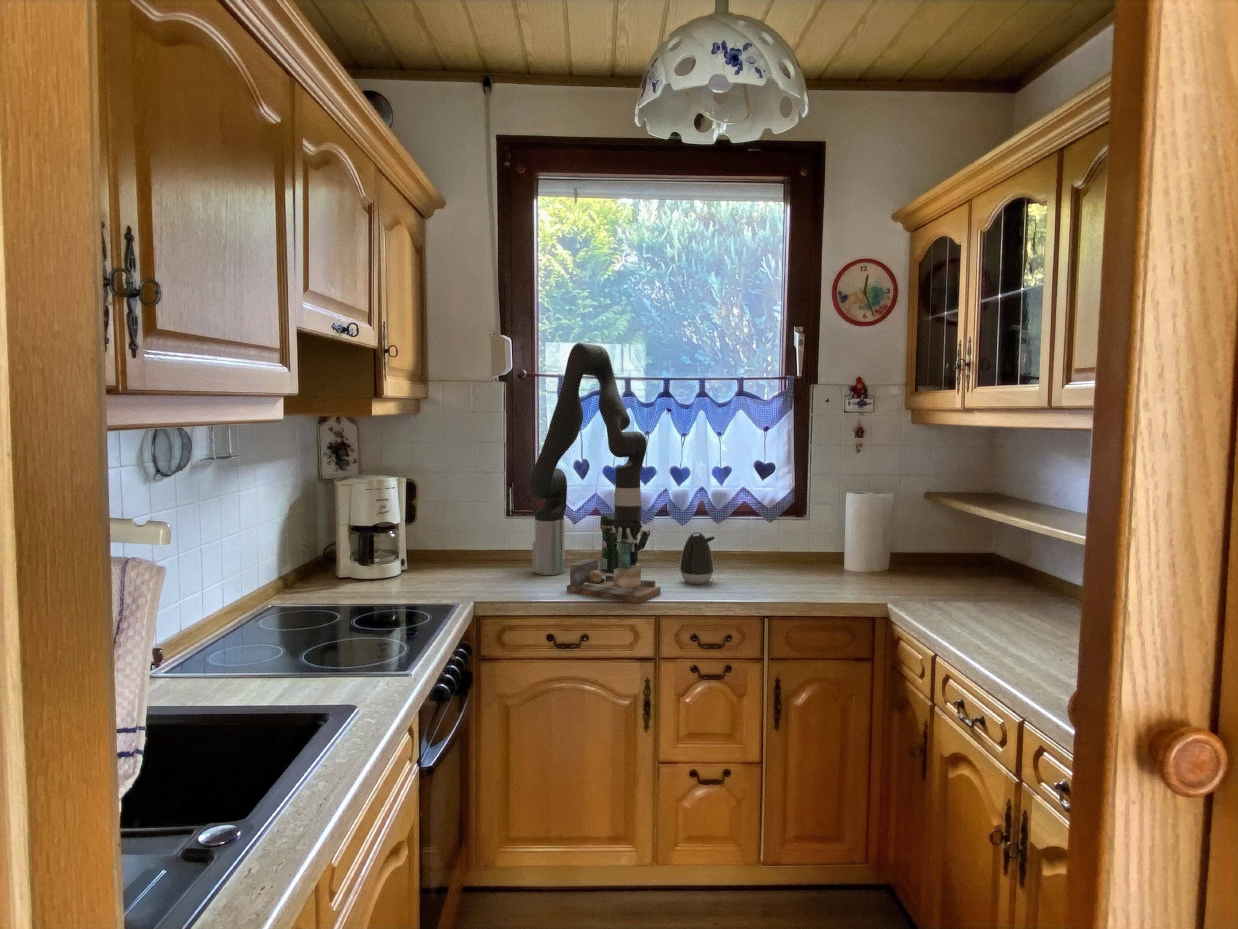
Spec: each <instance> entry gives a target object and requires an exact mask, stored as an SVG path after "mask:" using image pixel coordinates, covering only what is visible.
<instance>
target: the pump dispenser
mask: <svg viewBox="0 0 1238 929" xmlns="http://www.w3.org/2000/svg"><path fill="white" fill-rule="evenodd" d="M714 540H715V536H714V535H713V536H712V535H711V536H708V537H705V535H704V534H702V533H701V532H693V533H691V534H690V535H689V536H688V538H687V539H686V541H685V544H684V546H683V549H682V552H681V556H680V562H679V572H680V574H681V577H682V579H683V580H684V581H685V583H686V582H687V583H688V584H690V585H691V584H692V585H704V584H706V583H708V582H709V581H710V580H711V579H712V576H713V573H714V571H715V568H714V565H715V564H714V558H713V554H712V550H711V547H710V544H709V542H712V541H714Z"/></svg>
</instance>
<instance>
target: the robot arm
mask: <svg viewBox="0 0 1238 929" xmlns="http://www.w3.org/2000/svg"><path fill="white" fill-rule="evenodd" d="M583 376H590V377H595V378H596V381H598V384H599V385H600V392H599V396H598V410H599V413H600V415H601V418H602V419H603V422H604V425H605V427H606V434H607V442H608V443H607V444H608V445H607V446H608V450H609V451H610V453H611V454H612V455H613V456H614V457H616V458H627V461H626V463H624V464H622V465H619V466H617V467H616V468H615V471H614V473H615V474H614V478H615V480H614V486H615V487H614V494H613V496H614V500H613V501H614V502H613V504H614V505H613V506H614V510H613V513H614V518H615V523H614V526H611V527H607V528H606V532H607V535H608V538H609V541H610V543H611V546H612V547H613V548H616V549H617V550H618V543H622V542H625V541H627V539H628V541H629V544H630V548H631V552H630V565H635V564H636V563H637V564H638V561H639V558H638V557H639V556H638V554H639V552H640V551H641V550H644V549H645V547H646V544H647V541H648V540H649V537H650V535H651V530H649V529H648V530H647V529H646V528H643V524H642V523H641V521H642V493H641V490H642V489H641V471H642V468H643V465H644V461H645V460H644V459H645V456H646V453H647V448H648V447H647V439H646V436H645V435H644V434H643V433H642V432H640V431H625V430H626V429H628V427H629V426H630V424H631V419H630V416H629V414H628V412H627V409H626V407H625V405H624V402H623V401H622V398H621V394H620V393H619V390H618V389H619V388H618V385H617V381H616V376H615V373H614V369H613V365H612V361H611V357H610V355H609V353H608V351H607V349H606V348H605V347H604V346H602V345H598V344H592V343H587V342H586V343H585V342H577V343H575V344H574V345H573V347H572V348H571V349H570V351H569V355H568V358H567V362H566V366H565V370H564V376H563V380H562V385H561V388H560V392H559V394H558V399H557V402H556V405H555V407H554V411H553V413H552V416H551V420H550V421H549V422H550V423H549V427H548V430H547V433H546V437H545V439H544V443H543V445H542V447H541V451H540V453H539V455H538V458H537V460H536V461H535V465H534V466H533V470H531V474H530V476H529V481H528V488H529V492H530V495H531V496H533V498H535V499H543V500H544V501H543V503H542V504H541V505H540V506H539V507H538V508H537V509H536V510H534V542H533V543H532V572H533V573H536V574H537V575H543V576H555V575H561V574H564V573H565V522H564V521H565V513H566V511H567V502H568V500H567V499H568V481H567V476H566V474H565V472H564V471H563V470H562V469H560V468H558V467H557V466H558V463H559V461H560V460H561V459H562V457H563V456H564V454H565V453H567V451H569V449H570V448H571V447H572V446H573V444H574V443H575V442H576V440H577V439H578V438H577V437H578V436H579V433H580V430H581V427H582V424H583V422H584V411H583V410H584V409H583V406H582V403H581V398H580V387H581V382H582V379H583ZM615 532H617V533H618V538H617V536H616V533H615ZM639 536H640V537H639Z"/></svg>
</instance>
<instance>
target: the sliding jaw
mask: <svg viewBox="0 0 1238 929" xmlns="http://www.w3.org/2000/svg"><path fill="white" fill-rule="evenodd" d="M630 552H631V548H630V544H629V541H628V540H627V541H625V542H622V543H618V568H617V569H614V572H613V575H614V587H619V588H626V589H632V588H634V587H637V586H639V585H641V579H642V564H641V563H638V562H637V563H636V564H635V565H630Z"/></svg>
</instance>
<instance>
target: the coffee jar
mask: <svg viewBox="0 0 1238 929" xmlns="http://www.w3.org/2000/svg"><path fill="white" fill-rule="evenodd" d="M614 523H615V518H614V512H610V513H603V514H600V524H599V527H600V529H601V534H602V536H601V537H602V540H601V541H602V543H601V553H600V569H601V570H602V571H603V572H610V573H611V572H613V573H614V569H617V568H618V550H617V549H616V548H613V547H612V546H611V543H610V541H609V538H608V535H607V532H606V528H607V527H611V526H614ZM615 533H616V536H617V538H618V533H617V532H615ZM627 540H628V539H627Z"/></svg>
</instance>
